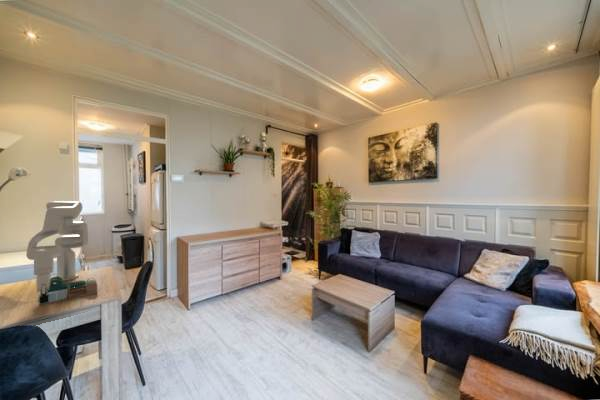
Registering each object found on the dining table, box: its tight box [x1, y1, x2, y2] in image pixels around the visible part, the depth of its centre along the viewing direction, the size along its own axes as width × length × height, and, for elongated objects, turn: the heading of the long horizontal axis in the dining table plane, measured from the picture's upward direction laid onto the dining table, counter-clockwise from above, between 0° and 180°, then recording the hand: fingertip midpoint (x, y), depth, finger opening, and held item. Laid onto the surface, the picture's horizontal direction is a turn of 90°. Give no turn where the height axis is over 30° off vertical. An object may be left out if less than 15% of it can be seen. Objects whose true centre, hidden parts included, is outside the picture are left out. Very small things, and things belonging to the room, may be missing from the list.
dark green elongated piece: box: [48, 276, 87, 293], centre depth 152 cm, size 18×7×8 cm, turn 135°
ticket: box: [38, 289, 68, 305], centre depth 134 cm, size 2×11×5 cm, turn 137°
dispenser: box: [67, 277, 98, 300], centre depth 143 cm, size 8×13×8 cm, turn 137°
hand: (44, 301), depth 131 cm, fingers closed on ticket, 2 cm apart
